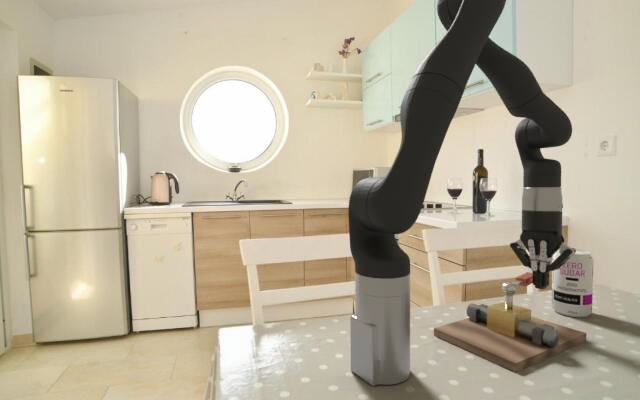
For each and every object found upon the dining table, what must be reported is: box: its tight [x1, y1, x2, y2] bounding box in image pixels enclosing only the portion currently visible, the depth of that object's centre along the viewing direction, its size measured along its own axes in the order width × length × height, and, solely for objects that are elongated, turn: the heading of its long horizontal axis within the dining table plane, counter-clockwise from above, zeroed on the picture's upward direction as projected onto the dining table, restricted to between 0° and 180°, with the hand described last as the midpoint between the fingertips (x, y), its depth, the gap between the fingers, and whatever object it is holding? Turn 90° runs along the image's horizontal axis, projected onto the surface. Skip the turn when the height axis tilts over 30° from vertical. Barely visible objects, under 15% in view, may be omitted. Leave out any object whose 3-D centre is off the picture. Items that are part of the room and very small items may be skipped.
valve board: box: [433, 315, 587, 373], centre depth 77 cm, size 24×18×2 cm
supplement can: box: [551, 248, 594, 318], centre depth 92 cm, size 8×8×15 cm
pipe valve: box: [466, 293, 559, 347], centre depth 77 cm, size 6×18×9 cm, turn 31°
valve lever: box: [501, 271, 533, 295], centre depth 81 cm, size 15×3×2 cm, turn 133°
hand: (540, 288), depth 81 cm, fingers closed
